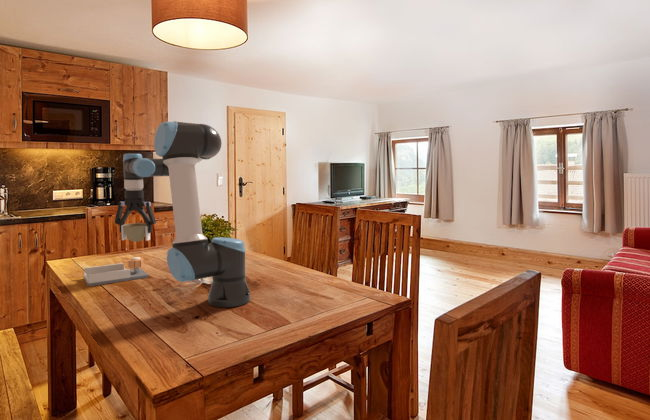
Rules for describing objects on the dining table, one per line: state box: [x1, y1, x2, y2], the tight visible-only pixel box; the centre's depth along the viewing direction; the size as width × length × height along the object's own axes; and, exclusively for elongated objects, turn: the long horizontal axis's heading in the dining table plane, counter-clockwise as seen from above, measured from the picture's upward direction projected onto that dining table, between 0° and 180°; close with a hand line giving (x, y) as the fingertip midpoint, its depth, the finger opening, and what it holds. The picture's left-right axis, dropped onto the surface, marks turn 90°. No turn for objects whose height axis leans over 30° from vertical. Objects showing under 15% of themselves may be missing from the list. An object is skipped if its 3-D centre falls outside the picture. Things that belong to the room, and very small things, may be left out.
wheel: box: [127, 256, 145, 269], centre depth 181 cm, size 6×6×4 cm
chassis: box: [83, 262, 149, 287], centre depth 177 cm, size 14×23×5 cm, turn 127°
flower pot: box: [123, 222, 147, 242], centre depth 178 cm, size 10×10×7 cm
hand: (136, 239), depth 179 cm, fingers closed on flower pot, 10 cm apart
